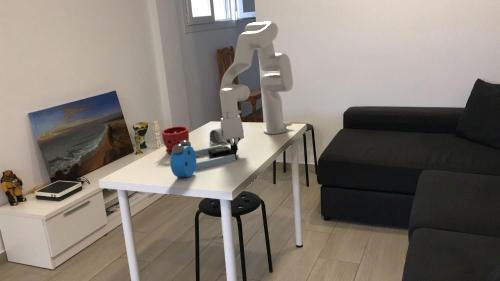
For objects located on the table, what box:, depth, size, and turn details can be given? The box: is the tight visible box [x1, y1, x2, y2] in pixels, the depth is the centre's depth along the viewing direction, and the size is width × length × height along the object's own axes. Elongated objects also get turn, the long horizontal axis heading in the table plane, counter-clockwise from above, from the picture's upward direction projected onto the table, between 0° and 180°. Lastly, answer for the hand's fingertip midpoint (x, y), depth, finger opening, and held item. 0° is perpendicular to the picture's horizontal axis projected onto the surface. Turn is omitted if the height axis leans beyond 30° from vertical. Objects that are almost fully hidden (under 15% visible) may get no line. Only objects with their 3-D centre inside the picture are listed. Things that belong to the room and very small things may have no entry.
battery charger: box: [208, 145, 238, 161], centre depth 210 cm, size 13×10×4 cm
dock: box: [194, 144, 237, 170], centre depth 210 cm, size 18×20×3 cm
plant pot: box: [161, 125, 190, 155], centre depth 226 cm, size 13×13×12 cm
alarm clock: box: [169, 140, 197, 179], centre depth 190 cm, size 13×6×15 cm, turn 163°
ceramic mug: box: [209, 127, 223, 145], centre depth 238 cm, size 11×8×8 cm
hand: (234, 152), depth 214 cm, fingers closed
